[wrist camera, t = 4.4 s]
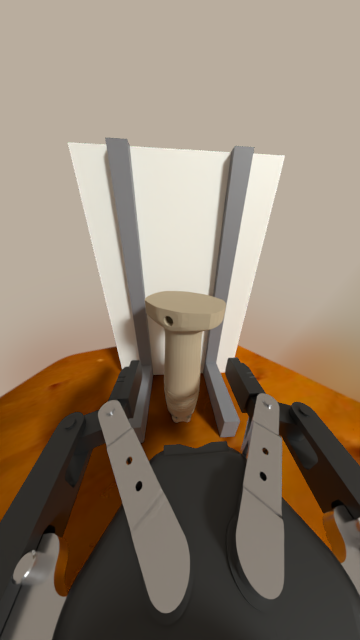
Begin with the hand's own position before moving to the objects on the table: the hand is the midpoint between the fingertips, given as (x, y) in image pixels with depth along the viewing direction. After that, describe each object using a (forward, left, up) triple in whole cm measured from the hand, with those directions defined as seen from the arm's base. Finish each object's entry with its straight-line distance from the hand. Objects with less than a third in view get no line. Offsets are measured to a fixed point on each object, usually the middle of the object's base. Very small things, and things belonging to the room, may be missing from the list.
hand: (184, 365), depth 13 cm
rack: (0, +3, -9) cm, 10 cm away
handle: (0, +1, -9) cm, 9 cm away
